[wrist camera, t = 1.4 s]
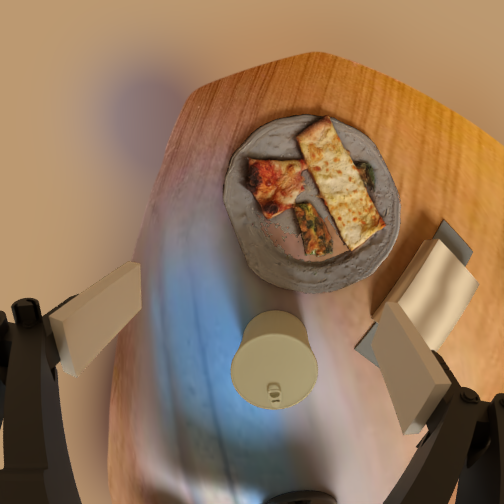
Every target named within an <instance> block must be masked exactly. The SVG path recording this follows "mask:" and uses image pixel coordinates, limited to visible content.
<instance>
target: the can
mask: <svg viewBox="0 0 504 504" xmlns="http://www.w3.org/2000/svg"><path fill="white" fill-rule="evenodd" d="M317 375H318V365H317V361H316V358H315V356H314V354H313V352H312V350H311V347H310V344H309V341H308V335H307V332H306V329H305V327H304V325H303V324H302V322H301V321H300V320H299V319H298V318H297V317H295V316H294V315H292V314H290V313H288V312H285V311H279V310H272V311H267V312H263V313H261V314H259V315H257V316H256V317H254V318H253V319H252V320H251V321H250V322H249V323H248V325H247V327H246V328H245V331H244V334H243V339H242V342H241V344H240V346H239V349H238V351H237V352H236V354H235V355H234V358H233V360H232V364H231V379H232V382H233V385H234V387H235V389H236V391H237V392H238V393H239V395H240V396H241V397H242V398H243V399H245V400H246V401H247V402H249V403H250V404H252V405H254V406H257V407H260V408H264V409H272V410H276V409H284V408H288V407H291V406H293V405H295V404H297V403H299V402H300V401H302V400H303V399H304V398H305V397H307V396H308V394H309V393H310V392H311V391H312V389H313V387H314V385H315V383H316V380H317Z"/></svg>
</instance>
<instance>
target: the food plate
mask: <svg viewBox="0 0 504 504" xmlns="http://www.w3.org/2000/svg"><path fill="white" fill-rule="evenodd" d="M375 147H376V145H375V144H374V143H373V142H372V141H371V139H369V137H367V136H366V135H365V134H364V133H362V132H360V131H359V130H357V129H355V128H354V127H351V126H349V125H347V124H344V123H343V122H340V121H338V120H337V119H335V118H332V117H329V116H328V115H325V116H316V115H310V114H302V115H293V116H290V117H285V118H279V119H276V120H272V121H271V122H269V123H266V124H265V125H263V126H260V127H259V128H257V129H256V130H255V131H254V132H253V133H251V134H250V136H249V137H248V138H247V139H246V140H245V142H243V143H242V144H241V146H240V147H239V148H238V149H237V150H236V151H235V152H234V153H233V155H232V157H231V159H230V162H229V165H228V167H229V166H230V167H229V168H228V171H227V173H226V176H225V183H224V185H223V202H224V203H225V204H224V205H225V207H226V210H227V213H228V215H229V218H230V220H231V223H232V225H233V228H234V231H235V233H236V236H237V238H238V241H239V244H240V247H241V249H242V251H243V254H245V258H246V259H247V262H248V263H247V264H248V266H249V267H250V268H251V269H252V270H253V271H254V273H255V274H257V275H258V276H259V277H260V278H262V279H264V280H265V281H266V282H268V283H271V284H274V285H275V286H277V287H281V288H285V289H290V290H294V291H298V292H304V293H305V294H306V293H313V294H315V293H323V292H331V291H334V290H338V289H342V288H344V287H346V286H348V285H351V284H353V283H356V282H358V281H360V280H362V279H364V278H366V277H369V276H371V275H372V274H373V273H374V272H375V271H376V270H377V268H378V266H380V264H381V263H382V261H384V260H385V259H386V258H387V256H388V255H389V253H390V251H391V250H392V247H393V246H394V244H395V242H396V239H397V236H398V233H399V232H398V231H399V228H400V224H401V223H400V210H401V204H400V201H401V200H400V201H399V198H400V197H399V198H398V196H399V194H397V193H398V191H396V190H397V188H396V186H394V185H395V183H394V181H393V179H392V176H391V174H390V172H389V170H388V168H387V166H386V164H385V162H383V161H384V160H382V159H383V158H382V157H381V155H380V154H379V153H380V152H379V150H377V149H378V148H375ZM304 179H305V181H304ZM312 195H313V196H312ZM257 211H258V212H257ZM256 213H257V214H258V215H260V216H261V218H258V216H257V214H256ZM327 216H328V220H329V221H330V223H331V225H332V226H333V227H334V229H335V230H336V234H337V235H339V237H340V238H341V240H342V241H343V243H344V244H343V245H345V244H346V245H347V247H348V249H350V250H349V251H346V252H344V253H342V254H340V255H337V256H335V257H332V258H330V259H327V260H325V261H322V262H311V261H307V262H304V260H301V259H300V260H296V259H294V258H293V257H292V256H291V255H290V254H289V255H286V254H285V253H284V249H282V248H281V246H280V245H279V244H277V246H278V247H275V246H274V244H273V241H272V240H271V239H270V235H268V230H267V229H265V230H266V231H267V235H268V237H266V236H265V234H264V232H263V231H262V230H261V227H262V226H261V223H263V225H264V226H266V224H268V223H266V222H264V219H265V218H266V219H267V220H269V221H271V223H270V224H272V223H274V224H275V228H278V226H281V230H282V231H284V234H285V233H289V234H292V233H293V234H297V235H296V237H298V235H299V234H300V233H301V236H302V240H303V245H304V248H305V256H307V254H310V255H311V254H315V255H316V256H317V257H319V256H325V254H326V253H330V254H332V253H333V248H332V245H333V241H332V237H330V235H329V233H328V232H327V228H326V225H325V223H324V222H325V220H324V218H325V217H327ZM260 219H261V220H260ZM252 223H253V224H254V226H252ZM276 223H279V225H276ZM297 223H298V224H297ZM269 226H270V225H269V224H268V225H267V227H269ZM285 227H289V228H288V229H287V228H285ZM292 231H293V232H292ZM270 234H271V233H270ZM271 235H272V234H271ZM285 238H287V236H285ZM282 239H284V237H283V236H282ZM276 241H277V240H276ZM284 242H285V240H284ZM298 242H299V241H298ZM298 256H299V255H298Z"/></svg>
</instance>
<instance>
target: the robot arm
mask: <svg viewBox="0 0 504 504" xmlns="http://www.w3.org/2000/svg"><path fill="white" fill-rule="evenodd" d="M11 308H12V312H13V316H14V320H15V323H10V322H8V321H7V318H6V314H5V312H3V311H0V429H1V425H2V421H4V422H3V448H4V468H3V469H2V470H0V504H82V503H81V500H80V497H79V494H78V490H77V487H76V483H75V480H74V476H73V472H72V468H71V463H70V459H69V455H68V450H67V445H66V439H65V434H64V428H63V421H62V414H61V407H60V398H59V387H58V375H57V369H56V364H58V363H59V362H60V361H61V365H62V368H63V370H64V372H66V373H68V374H70V375H72V376H74V377H78V376H79V375H80V374H81V373H82V371H83V370H84V369H85V368H86V367H87V366H88V365H89V364H90V363H91V362H92V360H93V359H94V358H95V357H96V356H97V355H98V354H99V353H100V352H101V351H102V350H103V349H104V348H105V347H106V345H107V344H108V343H109V342H110V341H111V340H112V339H113V338H114V337H115V336H116V335H117V334H118V333H119V332H120V331H121V330H122V328H123V327H124V326H125V325H126V324H127V323H128V322H129V321H130V320H131V319H132V318H133V317H134V316H135V315H136V314H137V313H138V312H139V311H140V310H141V309H142V302H141V273H140V263H135V262H130V261H128V262H127V263H125V264H123V265H122V266H120V267H119V268H117V269H116V270H115V271H113V272H111V273H110V274H108V275H107V276H105V277H104V278H102V279H101V280H99V281H98V282H96V283H95V284H93V285H92V286H91V287H89V288H88V289H86V290H85V291H83V292H82V293H80V294H77V295H74V296H71V297H69V298H68V299H66V300H65V301H64V302H63V303H61V304H59V305H58V307H55V308H54V309H52V310H51V311H50V312H48V313H47V314H45V315H44V316H42V315H41V310H40V306H39V302H38V300H36V299H33V298H23V299H20V300H18V301H16V302H14V303H13V304H12V306H11ZM371 347H372V349H373V352H374V354H375V357H376V359H377V362H378V364H379V367H380V370H381V372H382V375H383V378H384V380H385V383H386V386H387V389H388V391H389V394H390V397H391V400H392V403H393V406H394V408H395V411H396V414H397V417H398V420H399V423H400V426H401V429H402V433H403V435H409V434H419V432H420V431H421V430H422V428H423V427H424V426H425V424H426V425H427V427H428V432H427V433H426V434H425V436H424V437H423V438H422V440H421V441H420V442H419V444H418V445H417V446H416V447H417V448H418V449H417V451H416V453H415V454H414V456H413V458H412V460H411V461H410V463H409V465H408V466H407V468H406V470H405V471H404V473H403V474H402V476H401V478H400V479H399V481H398V482H397V484H396V485H395V487H394V488H393V490H392V491H391V493H390V494H389V496H388V497H387V498H386V500H385V501H384V503H383V504H448V502H449V500H450V498H451V496H452V493H453V491H454V489H455V486H456V484H457V481H458V479H459V481H458V489H457V495H456V502H455V504H504V393H499V394H496V396H495V397H494V398H493V400H492V401H491V402H485V401H480V397H479V395H478V394H477V393H476V392H475V391H473V390H472V389H470V388H466V387H461V386H460V385H459V383H458V381H457V380H456V378H455V377H454V375H453V373H452V372H451V370H449V367H448V366H447V365H446V363H445V361H444V360H443V358H442V357H441V356H440V355H439V354H438V353H437V352H436V351H434V350H430V348H429V347H428V345H427V344H426V342H425V341H424V339H423V338H422V336H421V335H420V333H419V332H418V330H417V329H416V327H415V326H414V324H413V323H412V322H411V320H410V319H409V317H408V316H407V314H406V313H405V312H404V310H403V309H402V307H401V306H400V305H399V303H394V302H386V303H385V306H384V309H383V312H382V315H381V318H380V321H379V324H378V327H377V330H376V333H375V335H374V338H373V341H372V344H371ZM3 418H4V419H3ZM489 444H490V445H489ZM266 504H337V503H336V501H335V499H334V498H333V497H331V496H330V495H328V494H325V493H322V492H317V491H296V492H290V493H286V494H282V495H279V496H277V497H275V498H273V499H271V500H270V501H268V502H267V503H266Z"/></svg>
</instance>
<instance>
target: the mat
mask: <svg viewBox="0 0 504 504" xmlns="http://www.w3.org/2000/svg"><path fill="white" fill-rule="evenodd" d="M433 239H440V240H441V241H442V243H443V244H444V245H445V246H446V247H447V248H448V249H449V250H450V251H451V252H452V253H453V254H454V255H455V256H456V257H457V259H458V260H459V261H460V262H461V263H462V264H463V265H464V266H466V265H467V263H468V261H469V259H470V257H471V255H472V253H473V251H472V250H471V249H470V248H469V247H468V245H467V244H466V243H465V242H464V241H463V240H462V239H461V238H460V236H459V235H458V234H457V233H456V232H455V231H454V230H453V229H452V228H451V227H450V226H449V224H448V223H447V222H446V221H445V220H443V221H442V223H441V225H440V227H439V228H438V230H437V232H436V234H435V235H434V237H433ZM377 327H378V323H377V322H376V323H375V324H374V325H373V327H372V328H371V329H370V330H369V332H368V333H367V334H366V335H365V337H364V338H363V339H362V340H361V341H360V343H359V344H358V345H357V346H356V348H355V350H356V351H357V352H359V353H360V354H361V355H363V356H364V357H365V358H367V359H368V360H369V361H371V362H372V363H373V364H375V365H376V366H377V367H379V364H378V362H377V359H376V357H375V354H374V352H373V349H372V347H371V344H372V341H373V338H374V335H375V333H376V330H377ZM379 368H380V367H379Z"/></svg>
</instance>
